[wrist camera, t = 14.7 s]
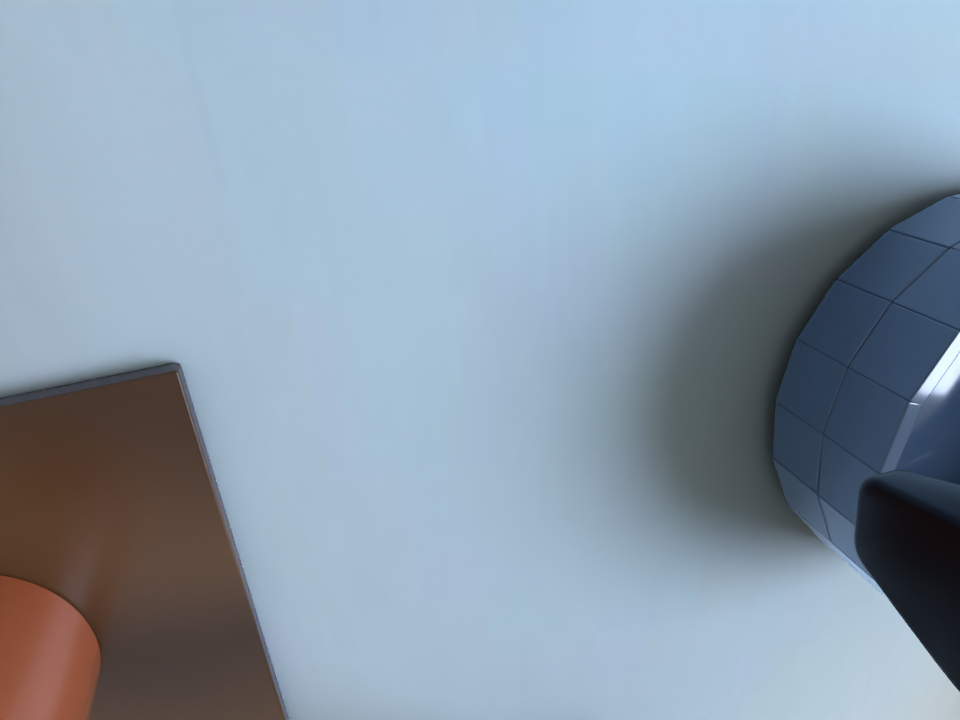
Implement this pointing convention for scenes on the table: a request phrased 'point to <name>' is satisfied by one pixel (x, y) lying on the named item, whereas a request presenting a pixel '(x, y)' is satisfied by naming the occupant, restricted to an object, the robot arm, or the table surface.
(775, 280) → the table surface
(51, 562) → the coaster board
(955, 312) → the bowl
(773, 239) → the table surface
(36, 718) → the cup
